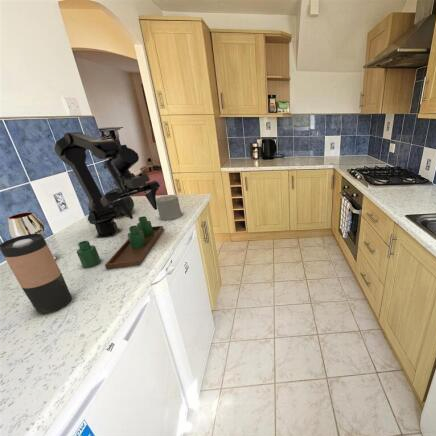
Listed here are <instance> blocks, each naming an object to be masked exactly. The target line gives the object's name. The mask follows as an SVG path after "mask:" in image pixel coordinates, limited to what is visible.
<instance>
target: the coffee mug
mask: <svg viewBox="0 0 436 436" xmlns="http://www.w3.org/2000/svg"><path fill="white" fill-rule="evenodd" d="M156 204H157V211H158V216H159V218H160V220H161V221H172V220H176V219H179V218H181V216H182V210H181V206H180V201H179V197H178V195H176V194H165V195H160V196H158V197H156Z"/></svg>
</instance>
